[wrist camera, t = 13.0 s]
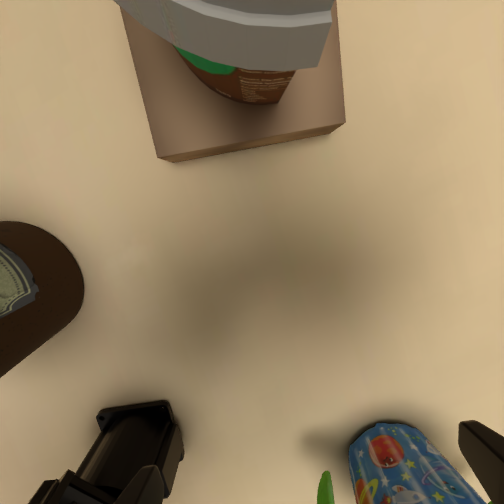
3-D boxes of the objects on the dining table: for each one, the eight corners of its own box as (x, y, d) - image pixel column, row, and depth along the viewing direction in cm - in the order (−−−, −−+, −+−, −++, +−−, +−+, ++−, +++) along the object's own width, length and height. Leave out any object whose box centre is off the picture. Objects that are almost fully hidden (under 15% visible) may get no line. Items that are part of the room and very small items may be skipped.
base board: (172, 162, 18) (157, 157, 15) (106, -117, 14) (69, -196, 11) (329, 133, 17) (345, 122, 14) (302, -164, 14) (316, -258, 11)
